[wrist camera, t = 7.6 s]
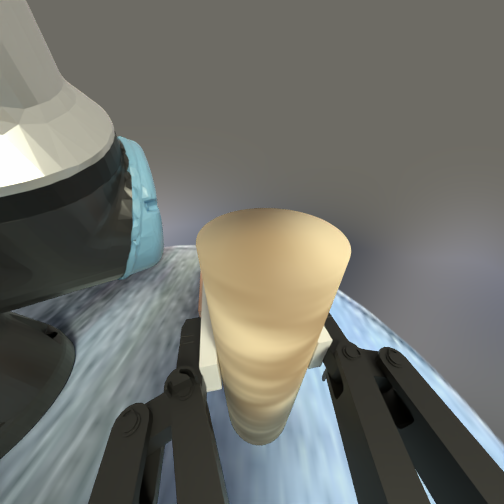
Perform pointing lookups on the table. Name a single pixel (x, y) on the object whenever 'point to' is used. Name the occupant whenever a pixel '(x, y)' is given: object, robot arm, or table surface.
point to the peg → (268, 307)
